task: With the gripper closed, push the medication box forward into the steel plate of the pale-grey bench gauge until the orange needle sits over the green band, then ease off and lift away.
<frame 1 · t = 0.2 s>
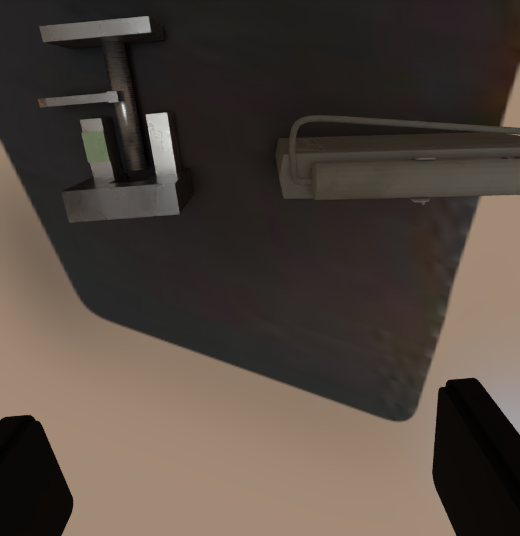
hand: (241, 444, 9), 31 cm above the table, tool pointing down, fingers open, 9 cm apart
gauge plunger: (108, 104, 33), point 2 cm above the table, slide at 0.0 cm
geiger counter: (411, 144, 37), on the table
gauge housing: (140, 161, 37), on the table
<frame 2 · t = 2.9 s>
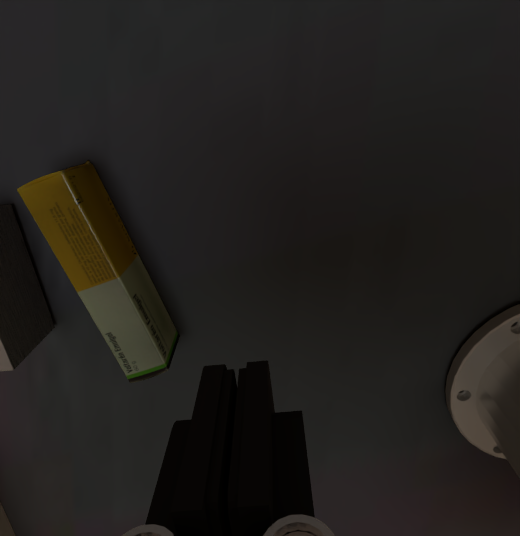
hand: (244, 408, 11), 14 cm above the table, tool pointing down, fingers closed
medication box: (124, 259, 24), on the table
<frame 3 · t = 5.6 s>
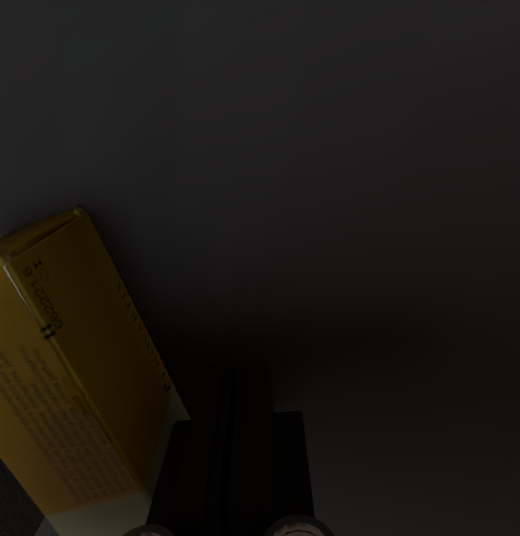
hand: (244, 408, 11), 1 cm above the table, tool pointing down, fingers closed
medication box: (144, 388, 13), on the table, touching gripper
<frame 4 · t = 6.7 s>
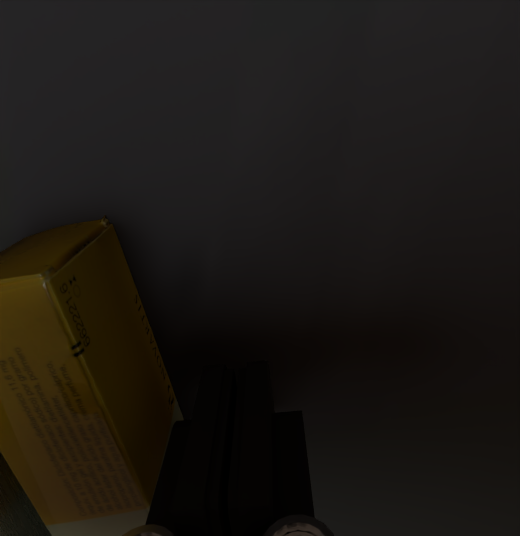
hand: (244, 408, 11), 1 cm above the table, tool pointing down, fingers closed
medication box: (145, 397, 13), on the table
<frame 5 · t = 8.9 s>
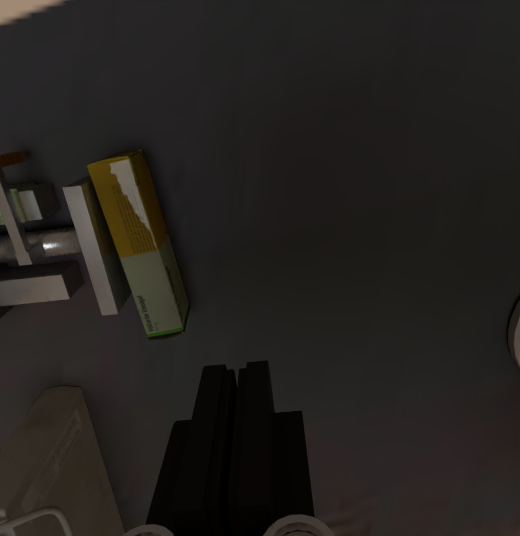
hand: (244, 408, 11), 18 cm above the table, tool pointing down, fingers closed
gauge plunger: (23, 236, 25), point 2 cm above the table, slide at 2.5 cm
medication box: (154, 236, 28), on the table
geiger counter: (103, 488, 38), on the table
gauge housing: (12, 241, 28), on the table
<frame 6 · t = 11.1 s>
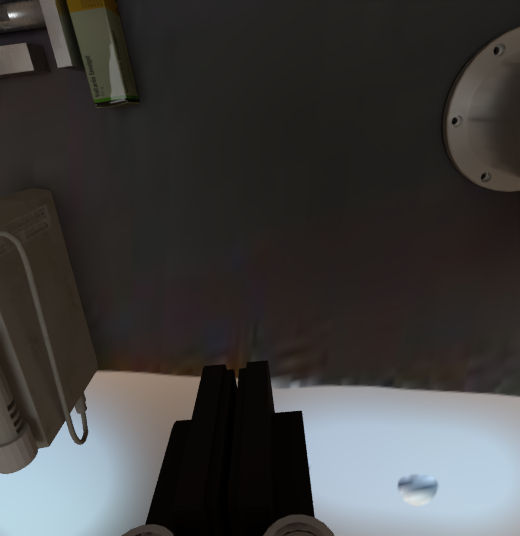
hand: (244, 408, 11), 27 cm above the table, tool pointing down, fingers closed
medication box: (107, 23, 31), on the table
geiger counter: (75, 308, 41), on the table
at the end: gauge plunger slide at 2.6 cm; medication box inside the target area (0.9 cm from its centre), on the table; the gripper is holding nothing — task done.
